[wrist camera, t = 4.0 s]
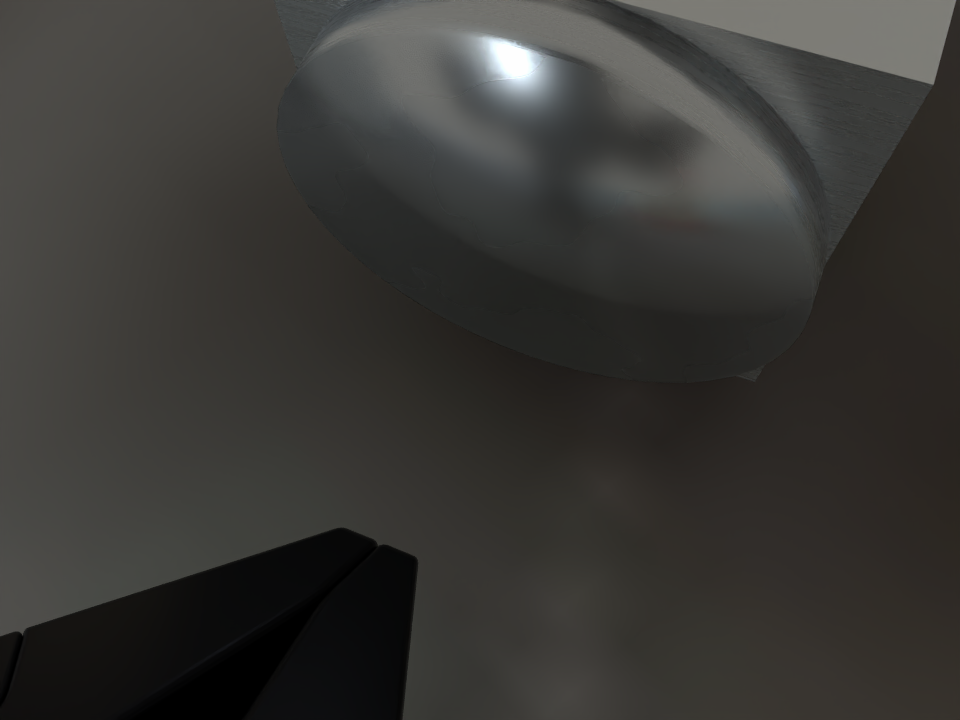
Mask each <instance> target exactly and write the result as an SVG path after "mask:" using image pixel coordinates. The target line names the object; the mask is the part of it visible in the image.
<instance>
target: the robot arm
mask: <svg viewBox="0 0 960 720" xmlns="http://www.w3.org/2000/svg"><path fill="white" fill-rule="evenodd" d="M417 572H418V560H417V558H416V557H415V556H413V555H411V554H408V553H406V552H403V551H401V550H398V549H396V548H393V547H391V546H389V545H384V544H383V545H379V546H378V544H377V542H376V541H375V540H374V539H371V538H369V537H366V536H364V535H361V534H359V533H357V532H354V531H352V530H349V529H346V528H336V529H333V530H330V531H327V532H324V533H321V534H317V535H314V536H311V537H308V538H305V539H302V540H299V541H296V542H293V543H290V544H286V545H283V546H280V547H277V548H274V549H271V550H268V551H265V552H262V553H259V554H255V555H252V556H249V557H246V558H243V559H240V560H237V561H234V562H231V563H227V564H224V565H221V566H218V567H215V568H212V569H209V570H206V571H203V572H200V573H196V574H193V575H190V576H187V577H184V578H181V579H178V580H175V581H172V582H169V583H165V584H162V585H159V586H156V587H153V588H150V589H147V590H144V591H141V592H137V593H134V594H131V595H128V596H125V597H122V598H119V599H116V600H113V601H110V602H106V603H103V604H100V605H97V606H94V607H91V608H88V609H85V610H82V611H78V612H75V613H72V614H69V615H66V616H63V617H60V618H57V619H54V620H51V621H47V622H44V623H41V624H38V625H35V626H32V627H29V628H27V629H26V630H25V631H24V633H23V637H22V634H21V633H20V632H12V633H9V634H6V635H3V636H0V720H402V719H403V709H404V699H405V689H406V680H407V670H408V660H409V650H410V640H411V631H412V621H413V611H414V601H415V592H416V582H417Z"/></svg>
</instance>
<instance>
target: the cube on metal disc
mask: <svg viewBox="0 0 960 720" xmlns="http://www.w3.org/2000/svg"><path fill="white" fill-rule="evenodd" d="M274 2H275V5H276V8H277V11H278V14H279V17H280V20H281V23H282V26H283V29H284V32H285V35H286V38H287V41H288V44H289V47H290V50H291V53H292V56H293V59H294V62H295V65H296V68H297V70H296V72H295V74H294V75H293V77H292V79H291V80H290V82H289V84H288V85H287V87H286V89H285V91H284V94H283V96H282V99H281V102H280V105H279V108H278V119H277V132H278V140H279V147H280V150H281V153H282V156H283V159H284V162H285V166H286V168H287V170H288V172H289V174H290V176H291V178H292V180H293V182H294V184H295V186H296V188H297V189H298V191H299V193H300V194H301V196H302V197H303V199H304V200H305V202H306V203H307V205H308V206H309V208H310V209H311V210H312V211H313V213H314V214H315V215H316V216H317V218H318V219H319V220H320V221H321V223H322V224H323V225H324V226H325V227H326V228H327V229H328V230H329V231H330V233H331V234H332V235H333V236H334V237H335V238H336V239H337V240H338V241H339V242H340V243H341V244H342V245H343V246H344V247H345V248H346V249H347V250H349V251H350V252H351V253H352V254H353V255H354V256H355V257H356V258H357V259H358V260H359V261H361V262H362V263H363V264H364V265H366V266H367V267H368V268H369V269H371V270H372V271H373V272H374V273H376V274H377V275H378V276H379V277H381V278H382V279H383V280H385V281H386V282H388V283H389V284H390V285H392V286H393V287H395V288H396V289H397V290H399V291H400V292H402V293H403V294H405V295H406V296H408V297H409V298H411V299H413V300H414V301H416V302H417V303H419V304H420V305H422V306H424V307H425V308H427V309H429V310H430V311H432V312H434V313H436V314H438V315H439V316H441V317H443V318H445V319H447V320H448V321H450V322H452V323H454V324H456V325H458V326H460V327H462V328H464V329H466V330H468V331H470V332H472V333H474V334H476V335H478V336H481V337H483V338H485V339H488V340H490V341H492V342H495V343H497V344H499V345H501V346H504V347H507V348H509V349H512V350H515V351H517V352H520V353H523V354H525V355H528V356H531V357H534V358H537V359H540V360H543V361H546V362H550V363H553V364H556V365H560V366H563V367H567V368H571V369H575V370H579V371H583V372H587V373H592V374H597V375H602V376H607V377H613V378H620V379H627V380H634V381H646V382H659V383H689V382H701V381H712V380H717V379H722V378H728V377H733V376H738V377H741V378H744V379H747V380H750V381H753V382H755V381H756V379H757V377H758V376H759V374H760V372H761V371H762V369H763V367H764V366H765V364H767V363H769V362H771V361H773V360H775V359H776V358H777V357H779V356H780V355H781V354H782V353H784V352H785V351H786V350H788V349H789V348H790V347H791V346H792V344H793V343H794V342H795V341H796V340H797V338H798V337H799V336H800V335H801V334H802V332H803V329H804V327H805V325H806V323H807V321H808V319H809V317H810V313H811V310H812V307H813V303H814V300H815V296H816V293H817V290H818V286H819V283H820V280H821V276H822V273H823V269H824V266H825V264H826V263H827V261H828V259H829V258H830V256H831V254H832V253H833V251H834V249H835V248H836V246H837V244H838V243H839V241H840V239H841V238H842V236H843V234H844V233H845V231H846V229H847V228H848V226H849V224H850V223H851V221H852V219H853V218H854V216H855V215H856V213H857V211H858V210H859V208H860V206H861V205H862V203H863V201H864V200H865V198H866V196H867V195H868V193H869V191H870V190H871V188H872V186H873V185H874V183H875V181H876V180H877V178H878V176H879V175H880V173H881V171H882V170H883V168H884V166H885V165H886V163H887V161H888V160H889V158H890V156H891V155H892V153H893V151H894V150H895V148H896V146H897V145H898V143H899V141H900V140H901V138H902V136H903V135H904V133H905V131H906V130H907V128H908V126H909V125H910V123H911V121H912V120H913V118H914V116H915V115H916V113H917V111H918V110H919V108H920V106H921V105H922V103H923V101H924V100H925V98H926V96H927V95H928V93H929V91H930V90H931V88H932V86H933V85H934V81H935V77H936V74H937V70H938V66H939V63H940V59H941V55H942V51H943V48H944V44H945V40H946V36H947V33H948V29H949V25H950V21H951V18H952V14H953V10H954V7H955V3H956V0H274Z"/></svg>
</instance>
